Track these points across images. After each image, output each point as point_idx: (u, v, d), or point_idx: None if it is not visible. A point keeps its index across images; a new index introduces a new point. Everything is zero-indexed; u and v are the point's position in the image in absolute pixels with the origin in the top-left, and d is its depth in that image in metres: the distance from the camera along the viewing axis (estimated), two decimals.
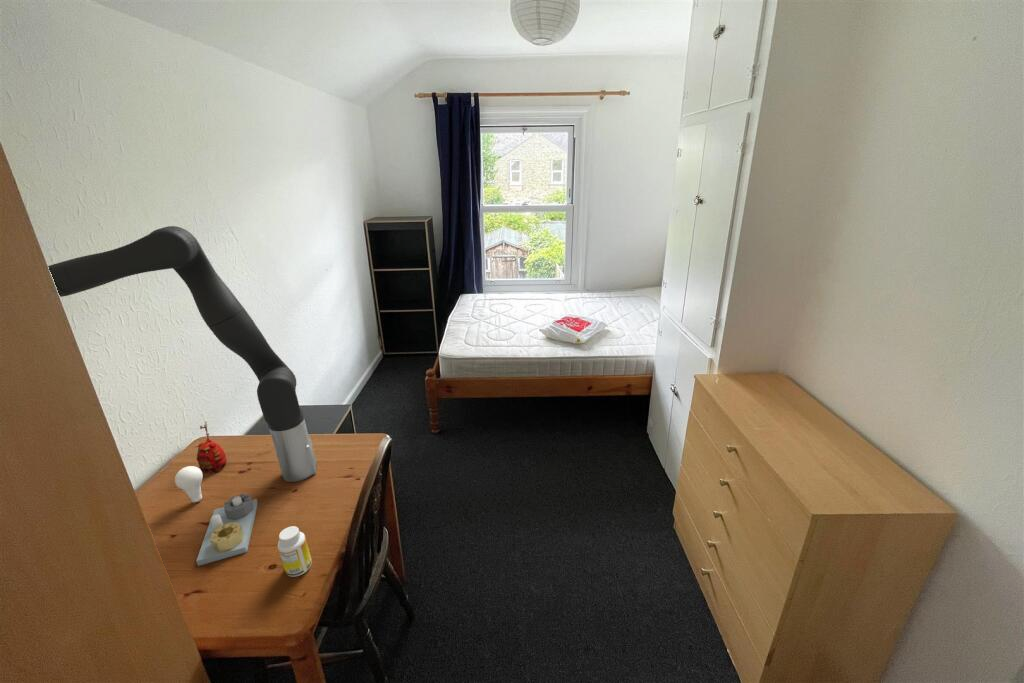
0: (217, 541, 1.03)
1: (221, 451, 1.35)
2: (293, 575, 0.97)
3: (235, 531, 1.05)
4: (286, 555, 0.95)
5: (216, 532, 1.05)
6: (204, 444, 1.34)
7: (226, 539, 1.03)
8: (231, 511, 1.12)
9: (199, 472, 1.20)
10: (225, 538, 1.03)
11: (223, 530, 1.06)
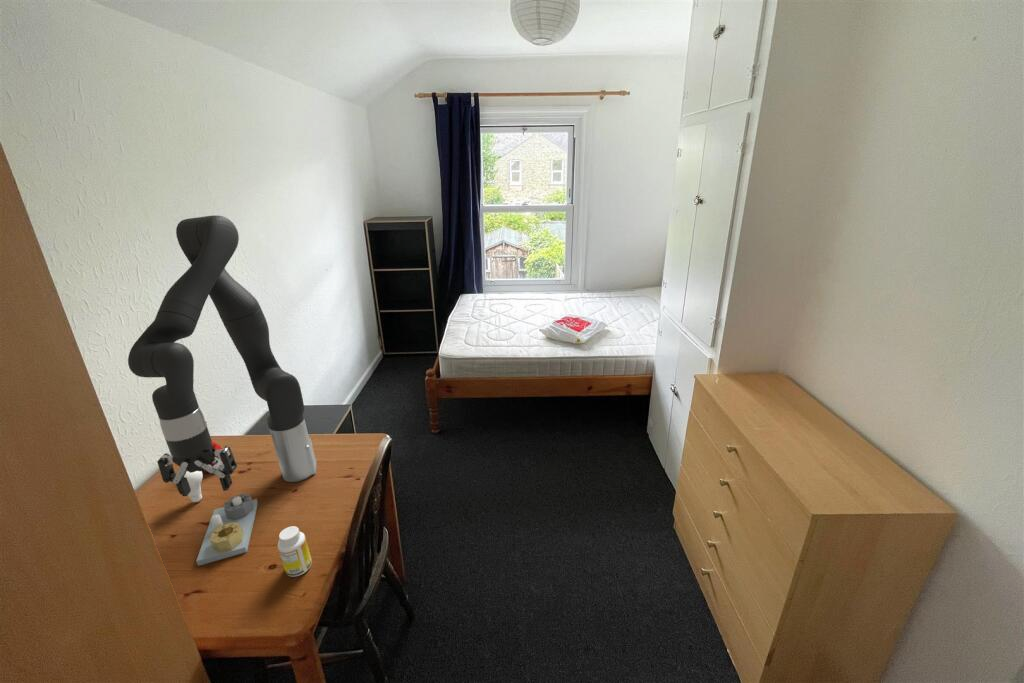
0: (217, 541, 1.03)
1: None
2: (293, 575, 0.97)
3: (235, 531, 1.05)
4: (286, 555, 0.95)
5: (216, 532, 1.05)
6: None
7: (226, 539, 1.03)
8: (231, 511, 1.12)
9: (199, 472, 1.20)
10: (225, 538, 1.03)
11: (223, 530, 1.06)
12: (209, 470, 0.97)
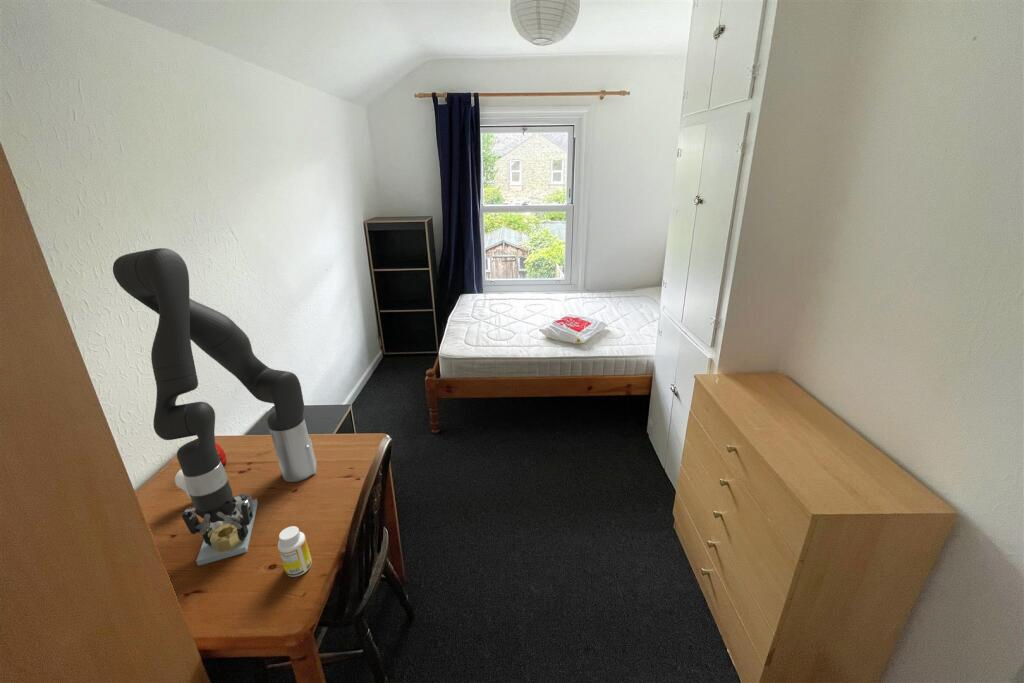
0: (217, 541, 1.03)
1: (221, 451, 1.35)
2: (293, 575, 0.97)
3: (235, 531, 1.05)
4: (286, 555, 0.95)
5: (216, 532, 1.05)
6: None
7: (226, 539, 1.03)
8: None
9: None
10: (225, 538, 1.03)
11: (223, 530, 1.06)
12: (229, 521, 1.02)
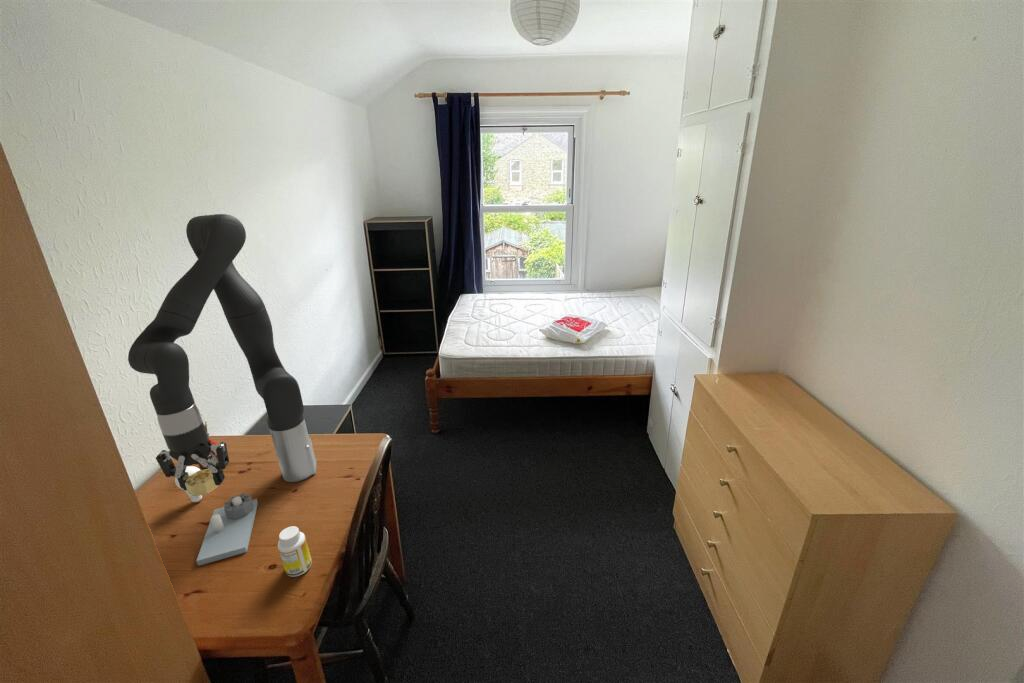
0: (192, 484, 1.02)
1: None
2: (293, 575, 0.97)
3: (211, 476, 1.04)
4: (286, 555, 0.95)
5: (192, 477, 1.04)
6: None
7: (201, 483, 1.02)
8: (231, 511, 1.12)
9: None
10: (200, 482, 1.02)
11: (199, 475, 1.05)
12: (204, 464, 1.02)
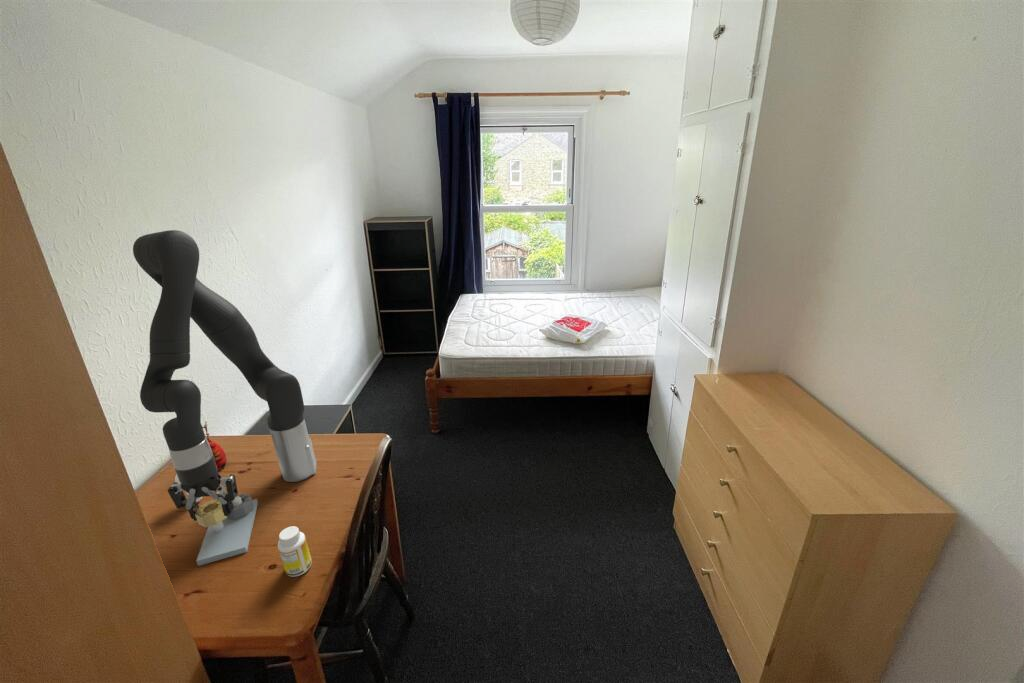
0: (202, 515, 1.05)
1: (221, 451, 1.35)
2: (293, 575, 0.97)
3: (220, 507, 1.08)
4: (286, 555, 0.95)
5: (202, 508, 1.07)
6: None
7: (211, 514, 1.05)
8: None
9: None
10: (209, 514, 1.06)
11: (209, 506, 1.09)
12: (213, 496, 1.05)
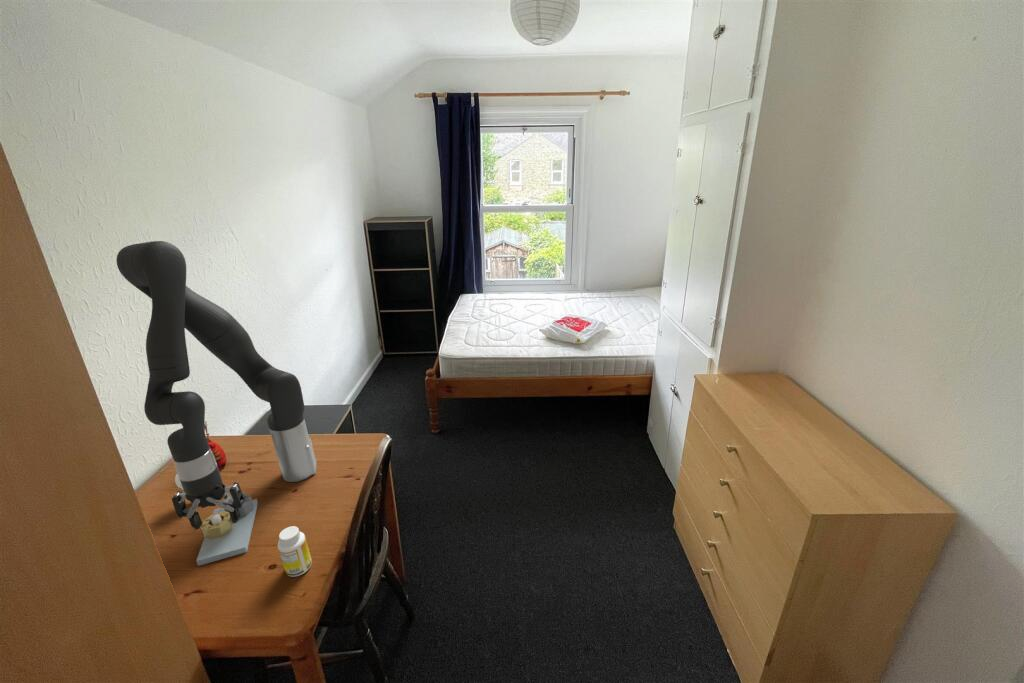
0: (208, 528, 1.07)
1: (221, 451, 1.35)
2: (293, 575, 0.97)
3: (225, 519, 1.09)
4: (286, 555, 0.95)
5: (207, 520, 1.09)
6: None
7: (216, 527, 1.07)
8: None
9: None
10: (215, 526, 1.07)
11: None
12: (220, 505, 1.06)
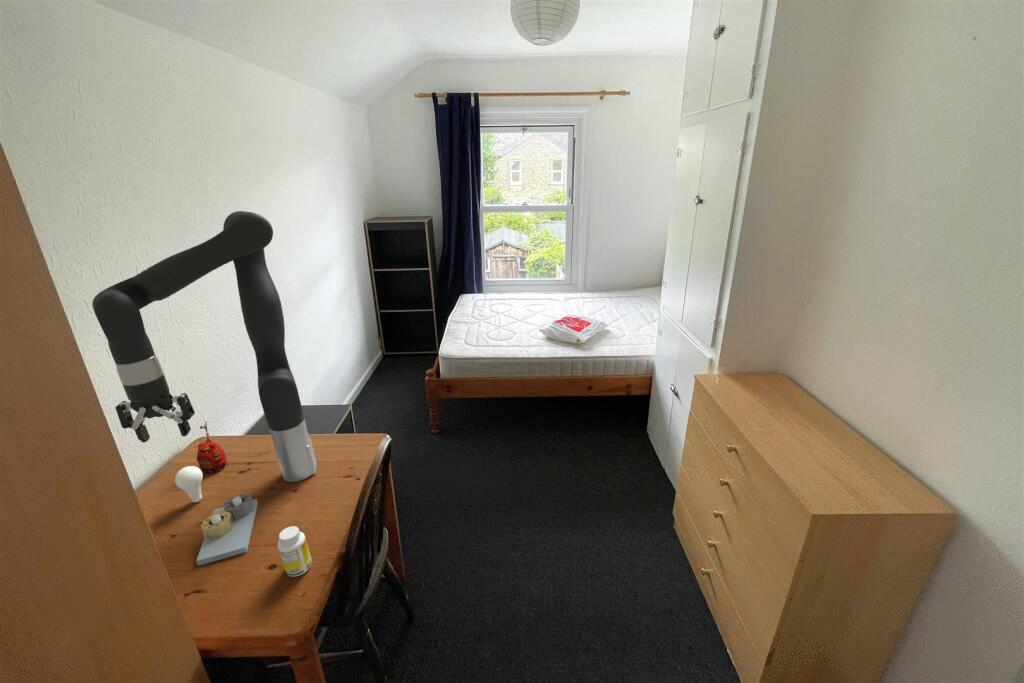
0: (208, 528, 1.07)
1: (221, 451, 1.35)
2: (293, 575, 0.97)
3: (225, 519, 1.09)
4: (286, 555, 0.95)
5: (207, 520, 1.09)
6: (204, 444, 1.34)
7: (216, 527, 1.07)
8: (231, 511, 1.12)
9: (199, 472, 1.20)
10: (215, 526, 1.07)
11: None
12: (167, 415, 1.03)
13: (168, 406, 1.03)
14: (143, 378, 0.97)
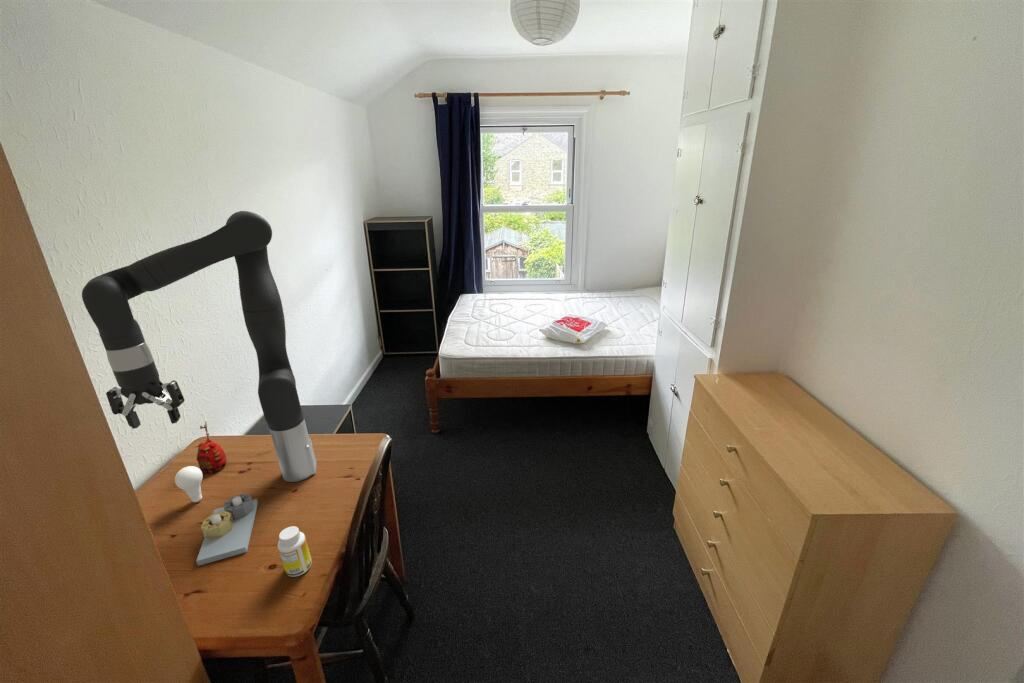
0: (208, 528, 1.07)
1: (221, 451, 1.35)
2: (293, 575, 0.97)
3: (225, 519, 1.09)
4: (286, 555, 0.95)
5: (207, 520, 1.09)
6: (204, 444, 1.34)
7: (216, 527, 1.07)
8: (231, 511, 1.12)
9: (199, 472, 1.20)
10: (215, 526, 1.07)
11: None
12: (157, 402, 1.04)
13: (158, 393, 1.04)
14: (132, 364, 0.98)
